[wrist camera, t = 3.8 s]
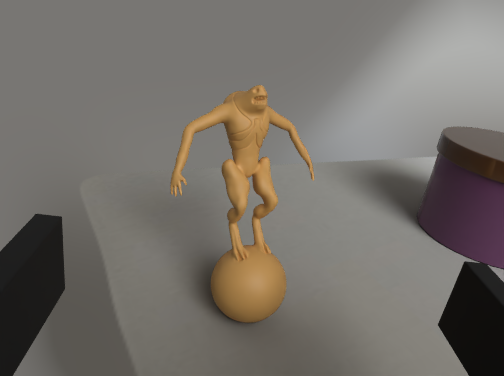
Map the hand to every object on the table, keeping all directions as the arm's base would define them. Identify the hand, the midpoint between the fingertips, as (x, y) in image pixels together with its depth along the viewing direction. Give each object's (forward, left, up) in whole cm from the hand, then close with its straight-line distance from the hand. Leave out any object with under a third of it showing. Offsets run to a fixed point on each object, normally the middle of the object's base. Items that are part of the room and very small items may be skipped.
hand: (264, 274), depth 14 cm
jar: (+25, +15, -7) cm, 30 cm away
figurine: (+1, +7, -8) cm, 11 cm away
